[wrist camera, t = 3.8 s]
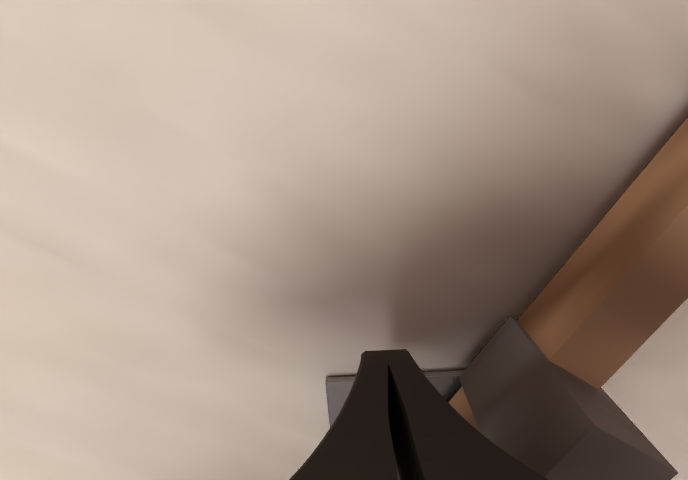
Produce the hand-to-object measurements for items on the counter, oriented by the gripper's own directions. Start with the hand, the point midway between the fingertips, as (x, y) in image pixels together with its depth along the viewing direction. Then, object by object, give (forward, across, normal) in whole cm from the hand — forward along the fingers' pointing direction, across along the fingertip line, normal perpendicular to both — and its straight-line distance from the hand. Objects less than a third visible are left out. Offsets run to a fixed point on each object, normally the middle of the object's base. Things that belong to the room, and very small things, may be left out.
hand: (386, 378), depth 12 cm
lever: (+2, -7, -2) cm, 8 cm away
